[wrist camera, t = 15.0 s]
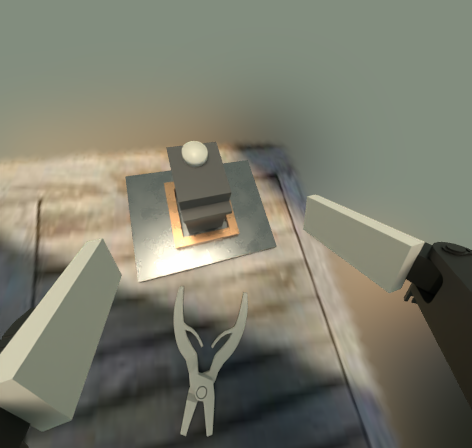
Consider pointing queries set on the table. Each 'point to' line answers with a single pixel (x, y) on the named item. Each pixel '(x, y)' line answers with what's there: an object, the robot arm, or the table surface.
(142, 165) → the table surface
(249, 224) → the plate
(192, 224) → the servo
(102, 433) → the table surface
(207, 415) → the pliers
